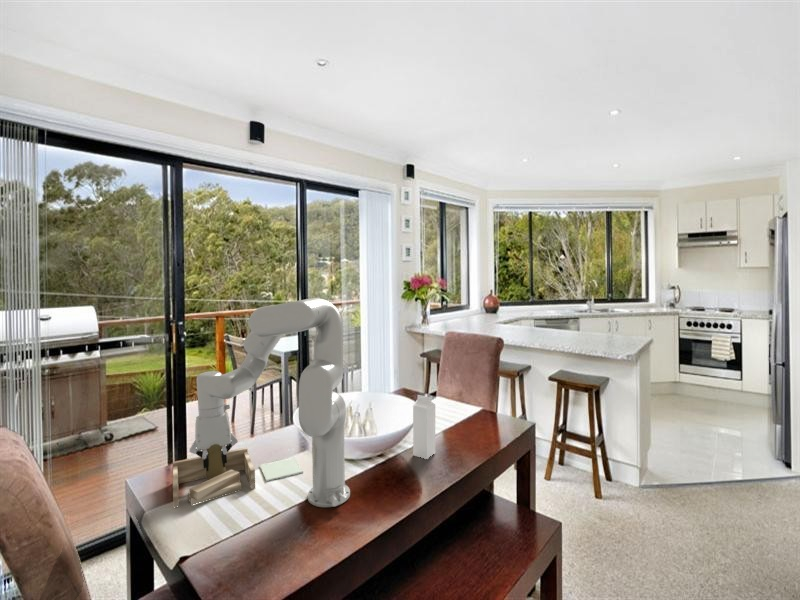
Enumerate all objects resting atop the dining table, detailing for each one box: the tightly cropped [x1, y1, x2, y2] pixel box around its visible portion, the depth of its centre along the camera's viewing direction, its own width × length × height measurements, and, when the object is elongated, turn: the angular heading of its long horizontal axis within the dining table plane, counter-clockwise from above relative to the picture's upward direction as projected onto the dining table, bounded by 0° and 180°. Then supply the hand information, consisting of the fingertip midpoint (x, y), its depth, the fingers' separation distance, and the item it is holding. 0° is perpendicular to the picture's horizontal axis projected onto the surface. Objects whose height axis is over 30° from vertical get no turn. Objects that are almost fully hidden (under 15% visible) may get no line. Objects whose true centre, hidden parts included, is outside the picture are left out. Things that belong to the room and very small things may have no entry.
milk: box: [412, 394, 436, 460], centre depth 151 cm, size 6×6×22 cm
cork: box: [205, 444, 226, 480], centre depth 130 cm, size 6×6×11 cm
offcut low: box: [188, 480, 242, 506], centre depth 125 cm, size 4×14×2 cm, turn 128°
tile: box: [259, 456, 304, 482], centre depth 140 cm, size 12×12×1 cm
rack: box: [172, 446, 256, 508], centre depth 130 cm, size 16×22×7 cm
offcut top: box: [189, 470, 241, 501], centre depth 125 cm, size 4×14×2 cm, turn 147°
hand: (215, 467), depth 130 cm, fingers closed on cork, 4 cm apart
